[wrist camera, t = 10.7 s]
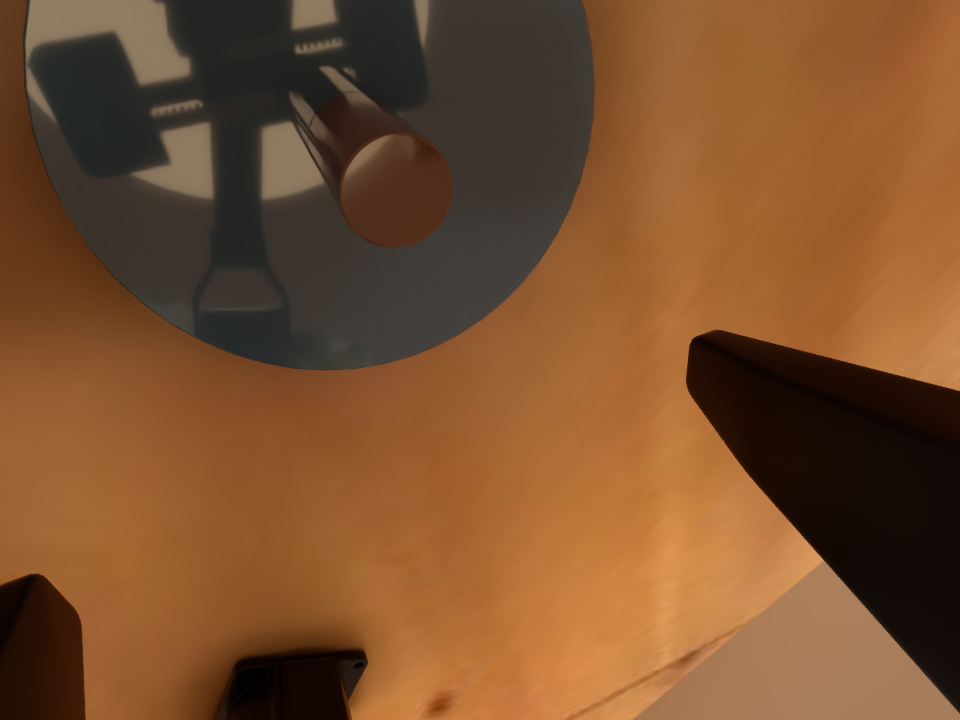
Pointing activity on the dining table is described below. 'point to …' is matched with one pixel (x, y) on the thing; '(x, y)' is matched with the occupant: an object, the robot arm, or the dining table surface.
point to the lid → (313, 160)
